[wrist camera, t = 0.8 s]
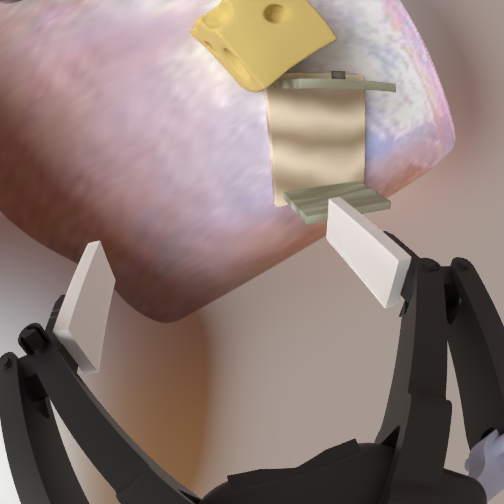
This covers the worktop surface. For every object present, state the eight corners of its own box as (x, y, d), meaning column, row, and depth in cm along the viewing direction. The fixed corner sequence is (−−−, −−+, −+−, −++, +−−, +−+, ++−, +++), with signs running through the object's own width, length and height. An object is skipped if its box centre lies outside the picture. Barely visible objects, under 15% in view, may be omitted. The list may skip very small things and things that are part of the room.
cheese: (188, 34, 26) (191, 12, 17) (258, -9, 24) (284, -37, 15) (241, 93, 31) (263, 93, 23) (306, 49, 29) (346, 40, 21)
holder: (262, 74, 30) (289, 69, 22) (357, 75, 32) (401, 76, 24) (274, 202, 40) (298, 234, 32) (358, 189, 42) (394, 214, 34)
